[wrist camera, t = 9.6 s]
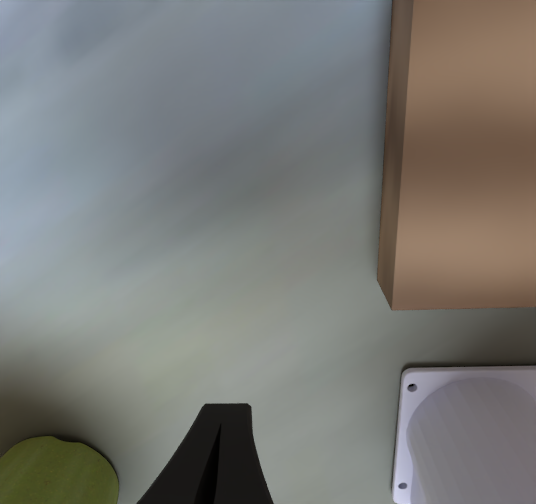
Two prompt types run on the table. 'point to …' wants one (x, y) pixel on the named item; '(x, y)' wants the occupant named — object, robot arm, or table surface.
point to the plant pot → (56, 474)
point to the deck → (460, 156)
